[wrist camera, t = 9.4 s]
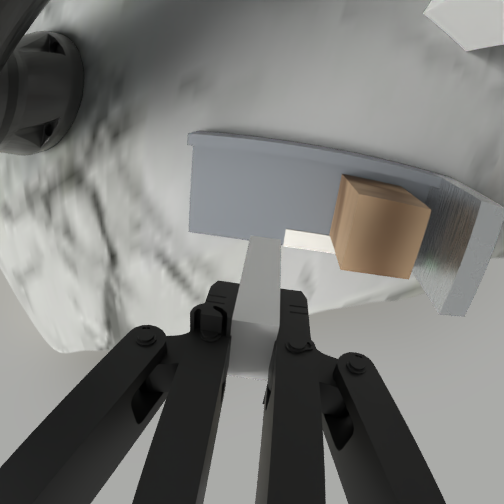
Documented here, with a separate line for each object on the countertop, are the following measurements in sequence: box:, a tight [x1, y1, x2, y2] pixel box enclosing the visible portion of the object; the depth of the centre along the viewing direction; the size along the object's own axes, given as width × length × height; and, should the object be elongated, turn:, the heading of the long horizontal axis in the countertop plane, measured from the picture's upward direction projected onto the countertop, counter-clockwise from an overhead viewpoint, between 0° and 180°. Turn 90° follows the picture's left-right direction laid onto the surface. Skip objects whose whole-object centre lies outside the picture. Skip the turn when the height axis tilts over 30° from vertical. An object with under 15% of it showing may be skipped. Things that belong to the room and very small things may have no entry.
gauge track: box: [187, 131, 455, 254], centre depth 28 cm, size 26×10×3 cm, turn 84°
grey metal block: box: [412, 173, 504, 316], centre depth 24 cm, size 3×10×9 cm, turn 174°
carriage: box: [329, 174, 431, 279], centre depth 25 cm, size 7×7×7 cm
